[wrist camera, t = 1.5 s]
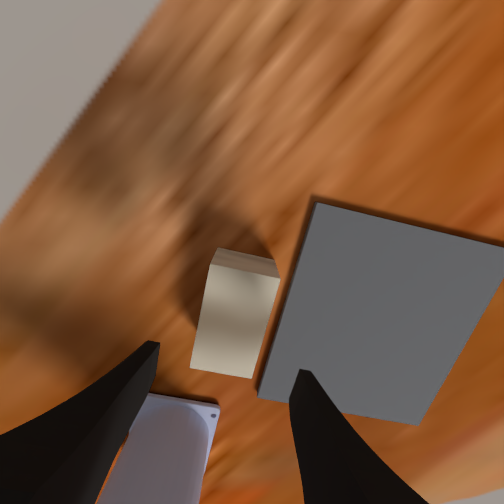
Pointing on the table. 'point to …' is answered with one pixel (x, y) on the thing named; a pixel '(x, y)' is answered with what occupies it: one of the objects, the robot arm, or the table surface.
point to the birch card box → (234, 312)
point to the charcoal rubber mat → (379, 312)
